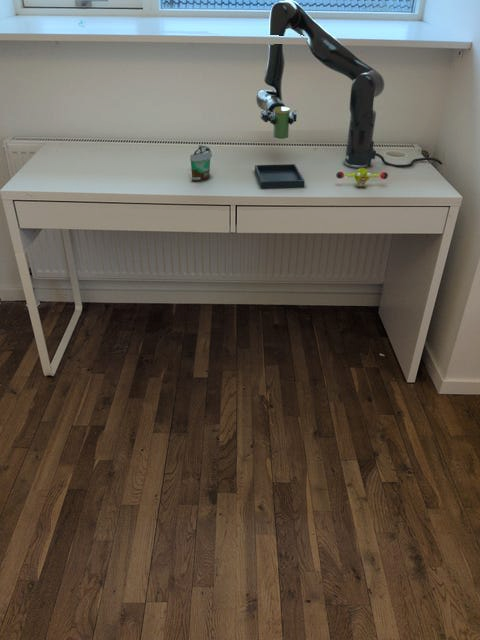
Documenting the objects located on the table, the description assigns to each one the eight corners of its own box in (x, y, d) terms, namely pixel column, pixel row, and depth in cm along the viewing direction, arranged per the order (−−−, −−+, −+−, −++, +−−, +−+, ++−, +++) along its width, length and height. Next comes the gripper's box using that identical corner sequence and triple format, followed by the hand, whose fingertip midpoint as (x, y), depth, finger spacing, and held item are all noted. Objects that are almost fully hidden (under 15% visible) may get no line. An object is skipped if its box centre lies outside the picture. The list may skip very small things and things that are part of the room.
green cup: (287, 134, 204) (288, 106, 198) (289, 138, 199) (291, 110, 193) (271, 134, 203) (273, 106, 197) (274, 139, 198) (275, 110, 193)
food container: (207, 184, 191) (207, 156, 185) (191, 183, 192) (189, 155, 186) (216, 172, 201) (215, 145, 195) (200, 171, 202) (199, 144, 196)
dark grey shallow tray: (294, 170, 204) (295, 164, 202) (303, 187, 190) (304, 180, 188) (254, 171, 202) (255, 165, 201) (261, 188, 188) (261, 181, 187)
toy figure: (336, 189, 188) (338, 170, 184) (334, 184, 193) (336, 165, 189) (387, 190, 188) (391, 171, 185) (384, 184, 193) (387, 165, 189)
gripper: (257, 99, 206) (263, 111, 193) (294, 99, 208) (303, 110, 194) (256, 120, 211) (262, 132, 197) (293, 119, 212) (301, 131, 198)
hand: (282, 121), depth 195 cm, fingers closed on green cup, 5 cm apart
